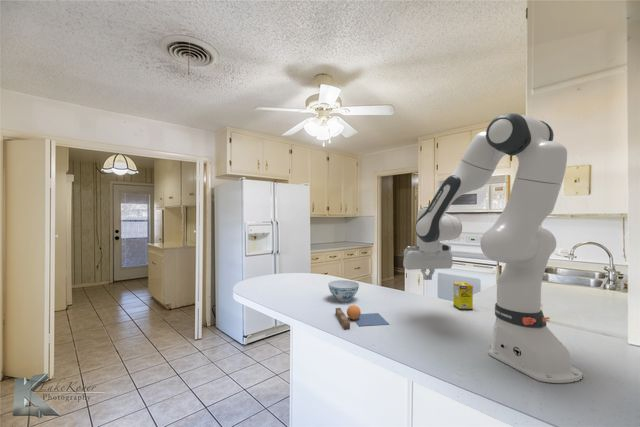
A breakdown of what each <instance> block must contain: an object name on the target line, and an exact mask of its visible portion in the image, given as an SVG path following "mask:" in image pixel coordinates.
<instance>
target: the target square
mask: <svg viewBox="0 0 640 427" xmlns="http://www.w3.org/2000/svg"><path fill="white" fill-rule="evenodd" d="M354 322H355V323H356V324H357V326H358V327H373V326H387V325H390V323H389V322H388V321H387V320H386V319H385V318H384V317H383V316H382V315H381V314H380V313H378V312H376V313H375V312H374V313H371V312H370V313H361V314H360V317H359V318H358V319H355V320H354Z"/></svg>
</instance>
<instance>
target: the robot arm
mask: <svg viewBox="0 0 640 427" xmlns="http://www.w3.org/2000/svg"><path fill="white" fill-rule="evenodd" d="M554 137H555V136H554V130H553V128H552V127H551V125H549V124H548V123H547V122H545V121H543V120H539V119H536V118H535V117H532V116H529V115H525V114H524V115H523V114H518V113H505V114H501V115H498V116H497V117H495V118H494V119H493V120H491V121H490V122H489V124H488V126H487V128H486V130H483V131H480V132H478V133H476V135H475V136H474V137H473V139H472V140H471V141H470V143H469V144H468V146H467V148H466V149H465V151H464V153H463V154H462V157H461V159H460V161H459V163H458V164H457V166H456V167H455V169H454V170H453V172H452V173H451V174H450V175H449V176H448V177H446V179H445V180H444V181H443V182H442V184H441V185H440V186H439V188H438V189H437V191H436V193H435V195H434V196H433V198H432V200H431V201H430V204H429V205H428V206H424V207H421V208H420V209H419V210H418V211H417V216H416V222H415V228H414V230H415V233H416V246H415V245H413V246H407V247H405V248H404V249H403V262H402V266H403V268H404V269H406V270H408V271H409V270H415V271H416V270H420V272H421V274H422V275H423V276H422V279H423V280H424V281H431V280H432V279H433V275H434V274H435V271H436V270H441V269H445V270H446V269H451V268H452V267H453V254H452V252H451V251H452V246H451V245H449V244H445V243H443V242H444V241H452V240H456V239H457V238H459V237H460V236H461V234H462V231H463V225H462V222H461V220H460V219H459V218H458V217H457V216H455V215H451V214H448V213H447V212H448V210H449V208H450V206H451V205H452V203H453V202H454V201H455V200H456V199H457V198H460V197H461V196H462V195H465V194H467V193H470V192H472V191H477V190H478V189H481V188H483V187H484V186H485V185H486V184H487V183H488V182H489V180H490V179H491V177H492V176H493V174H494V172H495V170H496V168H497V166H498V164H499V162H500V161H501V160H502V158H503V157H504V156H506V155H508V156H511V157H513V156H515V157H516V158H517V161H518V167H517V170H516V172H515V173H516V174H515V177H514V180H513V183H512V187H511V191H510V193H509V197H508V201H507V203H506V204H505V207H504V208H503V210H502V212H501V214H500V215H499V217H498V218H497V219H496V221H495V223H494V224H493V225H492V226H491V227H490V228H489V229H488V230H486V231H485V232H484V233H483V234H482V236H481V237H480V250H481V252H482V253H483V255H484V256H485V257H486V258H487V259H489V260H490V261H493V262H496V263H502V264H505V266H504V269H503V271H502V272H501V273H500V274H499V275H498V277H497V280H496V303H495V305H494V316H495V322H494V325H493V329H492V338H491V344H490V345H489V346H490V347H489V350H488V355H489V356H491V357H493V359H494V358H495V359H496V360H498V361H501V362H503V363H504V364H506V365H508V366H509V367H512V368H514V369H515V370H517V371H519V372H521V373H523V374H525V375H526V376H528V377H531V378H533V379H534V380H536V381H539V382H544V383H553V384H566V383H573V382H574V381H575V382H578V381H580V379H581V380H582V379H583V378H584V374H583V371H581V370H579V369H578V368H576V367H575V366H573V365H572V361H571V355H570V352H569V350H568V348H567V347H566V346H565V345H564V344H563V343H562V341H560V339H558V337H557V336H556V335H555V334H554V332H552V330H550V328H548V326H547V322H550V320H549V319H550V317H545V315H544V312H543V310H542V309H541V306H542V305H541V304H542V303H541V302H542V299H541V298H542V283H543V280H544V279H543V278H544V275H545V272H546V268H547V266H548V262H549V259H550V257H551V256H552V254H553V253H554V251H555V250H556V248H557V239H556V237H555V235H554V234H553V233H552V232H551V231H550V230H549V229H547V228H544V227H541V225H542V223H543V222H544V221H545V220H546V218H548V217H549V216H550V215H551V214H552V213H553V211H554V208H555V206H556V203H557V200H558V197H559V195H560V192H561V188H562V184H563V181H564V178H565V174H566V168H567V160H568V149H567V147H565V146H564V145H563V144H561V143H559V142H558V141H557V142H556V141H554ZM440 241H441V242H440ZM442 241H443V242H442ZM427 270H428V271H429V272H428V274H427ZM582 377H583V378H582Z"/></svg>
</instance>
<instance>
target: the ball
mask: <svg viewBox="0 0 640 427" xmlns="http://www.w3.org/2000/svg"><path fill="white" fill-rule="evenodd" d="M360 314H362V313H361V308H360V307H359V306H358V305H356V304H352V305H350V306H348V308H347V309H346V316H348V317H347V318H349V319H350V320H354V321H355V319H358V318H359V317H360Z"/></svg>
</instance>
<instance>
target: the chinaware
mask: <svg viewBox="0 0 640 427" xmlns="http://www.w3.org/2000/svg"><path fill="white" fill-rule="evenodd" d="M359 286H360V284H359V282H356V281H353V280H347V279H344V280H343V279H341V280H340V279H339V280H338V279H337V280H331V281H330V282H328V289H329V292H330V293H331V295H332V296H333V297H334V298H336V300H337V301H339V302H343V303H345V302H346V303H347V302H350V301H351V299H352V298H353V297H355V295H357V293H358V291H359V289H360V288H359Z"/></svg>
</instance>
